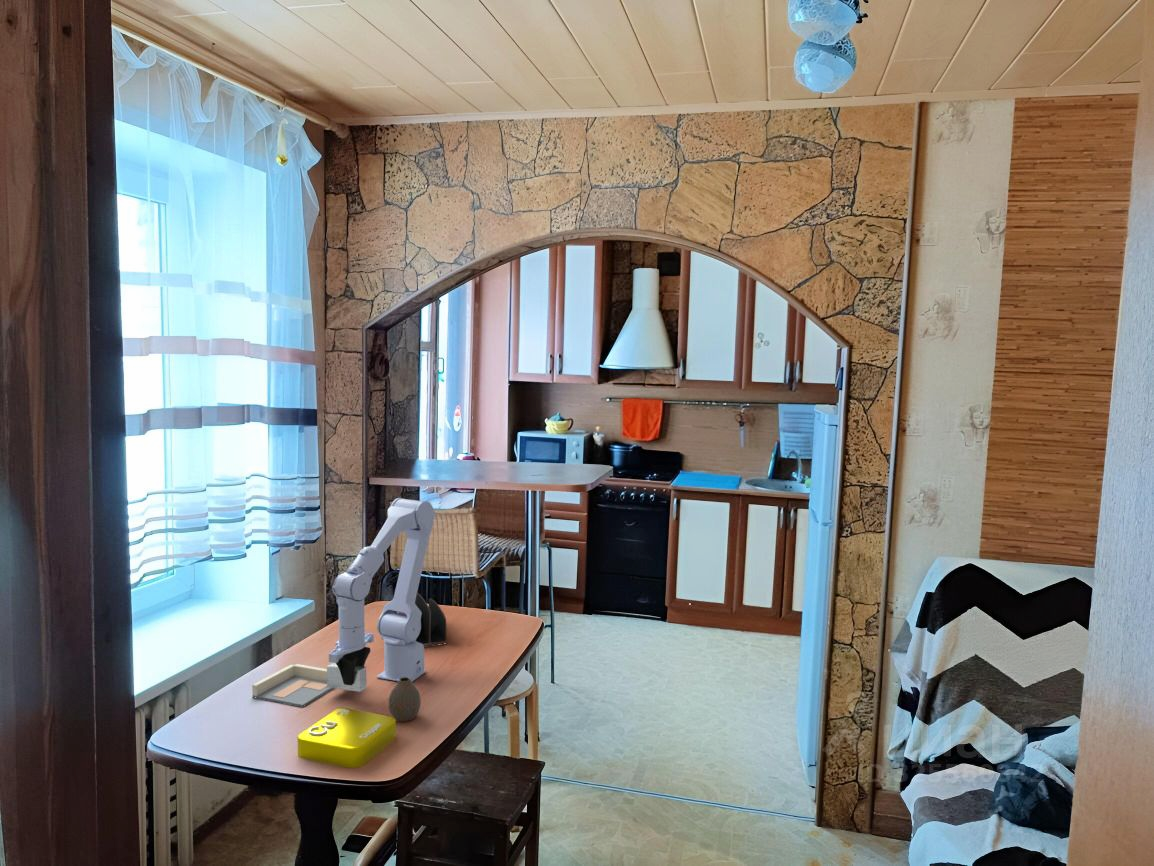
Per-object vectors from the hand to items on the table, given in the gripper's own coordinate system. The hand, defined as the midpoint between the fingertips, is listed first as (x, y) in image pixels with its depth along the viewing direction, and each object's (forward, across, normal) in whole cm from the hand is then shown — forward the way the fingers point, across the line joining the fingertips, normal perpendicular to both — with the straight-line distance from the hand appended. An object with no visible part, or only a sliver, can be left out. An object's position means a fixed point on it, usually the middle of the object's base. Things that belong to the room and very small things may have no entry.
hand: (352, 681), depth 179 cm
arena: (+4, +1, -14) cm, 15 cm away
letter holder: (+5, -43, -7) cm, 44 cm away
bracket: (+2, -2, -1) cm, 3 cm away
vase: (+4, +4, +16) cm, 18 cm away
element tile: (+5, +19, +12) cm, 23 cm away
